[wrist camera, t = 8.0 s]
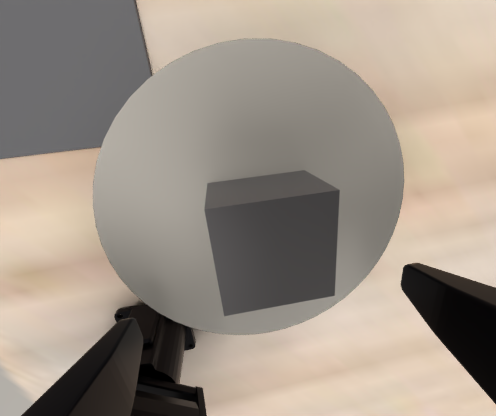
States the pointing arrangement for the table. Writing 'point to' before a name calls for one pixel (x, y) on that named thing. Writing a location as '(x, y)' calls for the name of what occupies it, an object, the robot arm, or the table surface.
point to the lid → (248, 186)
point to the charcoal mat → (66, 72)
